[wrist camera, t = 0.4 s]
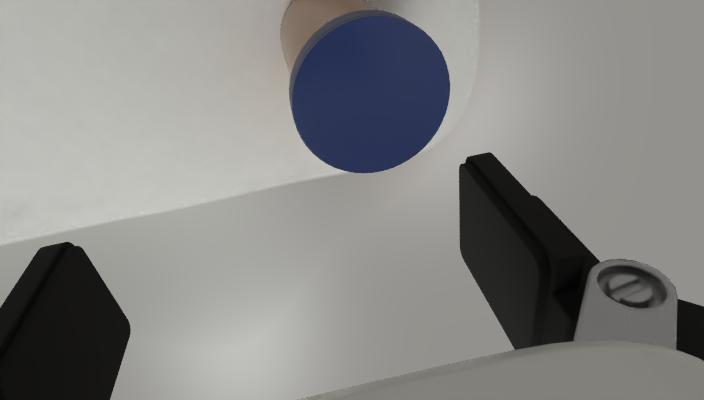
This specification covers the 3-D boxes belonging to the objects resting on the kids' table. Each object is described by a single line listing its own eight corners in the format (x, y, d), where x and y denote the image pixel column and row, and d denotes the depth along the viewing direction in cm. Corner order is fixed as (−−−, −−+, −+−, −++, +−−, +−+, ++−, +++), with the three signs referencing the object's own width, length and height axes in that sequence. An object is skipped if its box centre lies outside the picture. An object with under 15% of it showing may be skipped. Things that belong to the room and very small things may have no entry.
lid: (396, -28, 17) (407, -24, 16) (462, 106, 21) (475, 117, 20) (256, 72, 18) (257, 83, 17) (342, 184, 22) (347, 199, 21)
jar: (342, -38, 26) (399, -10, 17) (390, 48, 30) (460, 113, 20) (260, 22, 27) (268, 82, 17) (315, 100, 30) (348, 186, 21)
